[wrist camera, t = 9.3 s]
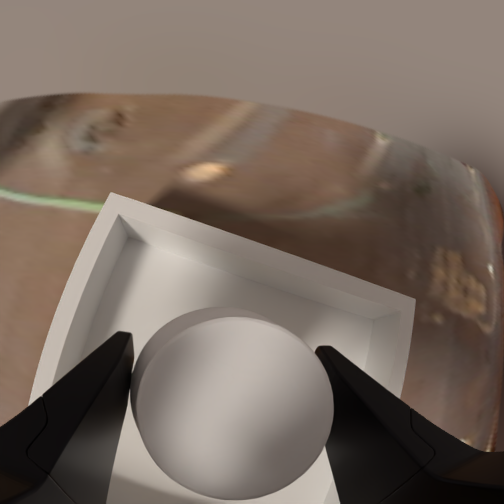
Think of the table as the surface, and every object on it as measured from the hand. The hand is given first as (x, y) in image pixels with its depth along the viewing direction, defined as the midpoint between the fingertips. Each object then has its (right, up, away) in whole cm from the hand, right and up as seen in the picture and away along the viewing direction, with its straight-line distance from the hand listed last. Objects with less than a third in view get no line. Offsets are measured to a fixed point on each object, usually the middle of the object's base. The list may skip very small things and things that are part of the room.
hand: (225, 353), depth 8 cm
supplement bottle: (-1, -4, +6) cm, 7 cm away
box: (-1, -6, +7) cm, 9 cm away
